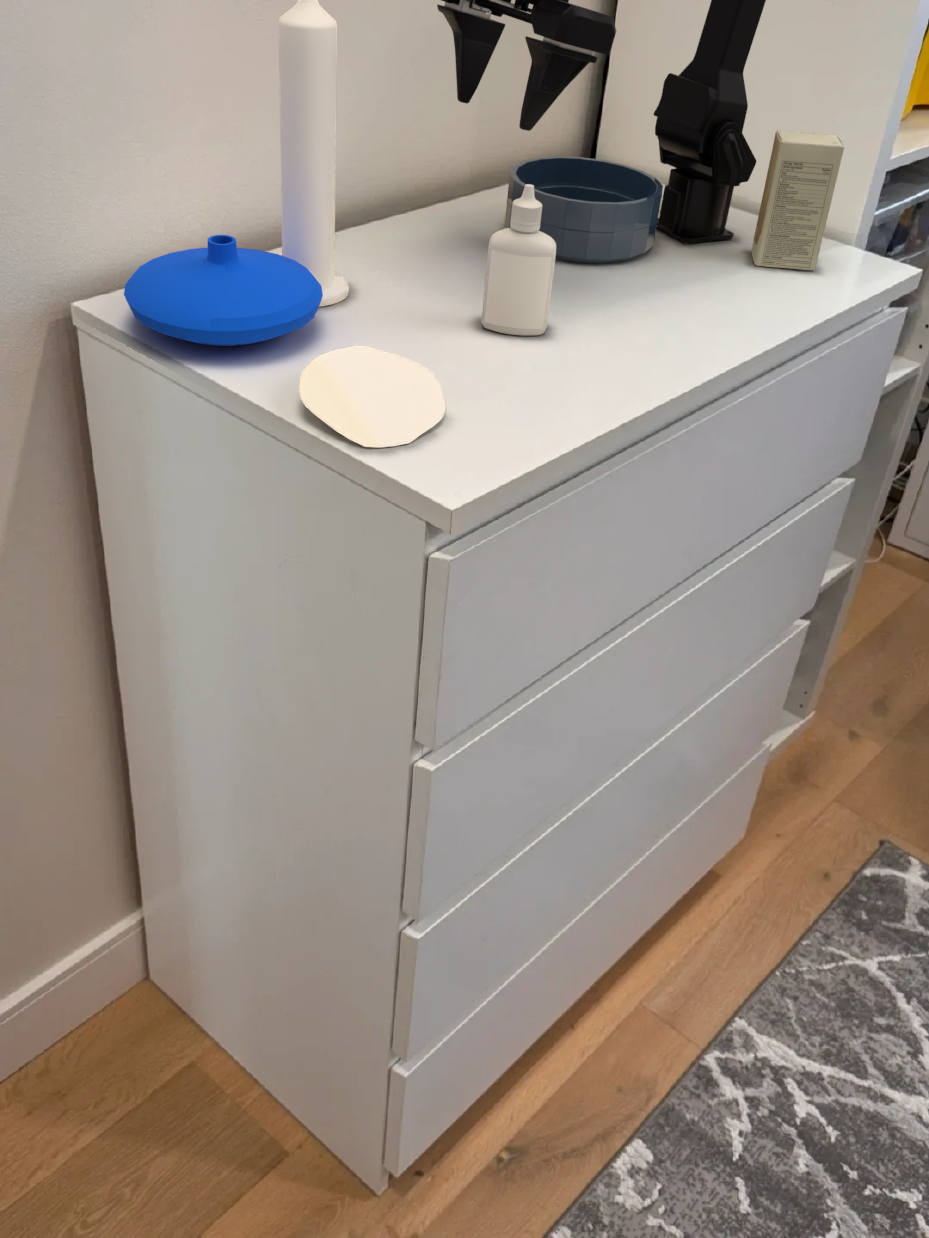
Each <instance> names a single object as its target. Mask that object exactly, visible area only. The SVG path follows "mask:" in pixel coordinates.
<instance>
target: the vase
mask: <svg viewBox="0 0 929 1238" xmlns="http://www.w3.org/2000/svg"><path fill="white" fill-rule="evenodd" d="M237 246H238V245H237V238H235V237H234V236H232V235H229V234H215V235H214V234H213V235H211V236H209V237H208V238H207V247H198V248H197V247H196V248H188V249H183V250H177V251H173V252H169V253H166V254H163V255H160V256H157V257H155V258H152V259H150V260H148V261H147V262H145V263H143V264H141V265H140V266H138V268H137V269H136V270H135V271H134V273H132V274H131V276H130V277H129V279H128V280H127V281H126V283H125V286H124V290H123V296H124V298H125V300H126V303H127V305H128V307H129V309H130V311H131V312H132V314H133V317H134V318H135V319H136V320H137V321H138V322H140V323H141V324H143V325H144V326H145V327H146V328H149V329H151V330H153V331H156V332H158V333H160V334H163V335H165V336H169V337H172V338H175V339H179V340H181V341H186V342H190V343H195V344H199V345H206V346H207V345H208V346H215V347H217V346H218V347H219V346H220V347H221V346H222V347H225V346H226V347H227V346H229V347H230V346H231V347H232V346H234V347H235V346H236V347H237V346H243V345H251V344H252V345H253V344H258V343H260V342H265V341H269V340H272V339H275V338H279V337H282V336H284V335H287V334H290V333H292V332H294V331H296V330H299V329H300V328H303V327H304V326H306V325H307V324H308V323H310V321H311V320H313V319H314V318H315V316H316V314H317V312H318V310H319V308H320V306H319V305H320V302H321V299H322V296H323V293H322V287H321V284H320V283H319V282H318V281H317V280H316V278H315V277H314V276H313V275H312V274H311V272H310V271H309V270H308V269H307V268H306V267H304V266H303V265H301V264H299V263H298V262H296V261H295V260H292V259H289V258H287V257H284V256H282V254H278V253H274V252H270V251H266V250H261V249H254V248H245V247H237Z"/></svg>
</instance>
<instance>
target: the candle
mask: <svg viewBox="0 0 929 1238" xmlns="http://www.w3.org/2000/svg"><path fill="white" fill-rule="evenodd" d="M278 70H279V73H278V74H279V76H278V77H279V78H278V79H279V137H280V139H279V141H280V195H281V196H280V204H281V205H280V207H281V210H280V211H281V256H284V257H287V258H289V259H292V260H295V261H296V262H298V263H299V264H301V265H303V266H304V267H306V268H307V269H308V270H309V271H310V272H311V274H312V275H313V276H314V277H315V278H316V280H317V281H318V282H319V283H320V284H321V287H322V293H323V296H322V299H321V302H320V305H319V307H327V306H331V305H335V304H338V303H340V302H342V301H344V300H345V299H346V298H347V297H348V296H349V291H350V286H349V283H348V281H347V280H346V279H345V278H344V277H342V276H341V275H339V274H336V273H335V257H336V256H335V255H336V254H335V248H336V247H335V246H336V181H337V180H336V179H337V177H336V176H337V175H336V172H337V170H336V169H337V168H336V167H337V102H338V101H337V98H338V97H337V93H338V92H337V91H338V88H337V87H338V22H337V21H336V19H335V18H334V17H333V16H331V15H330V13H328V11H326V9H324V8H323V6H322V5H321V4H320V3H319V0H297V1H296V3H295V4H294V5H292V7H291V8H290V9H289V10H287V11H286V12H284V13H283V14H282V15H281V16H280V17H279V18H278Z"/></svg>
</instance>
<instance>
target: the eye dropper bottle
mask: <svg viewBox="0 0 929 1238" xmlns="http://www.w3.org/2000/svg"><path fill="white" fill-rule="evenodd" d="M541 213H542V204H541V202H539V201H537V200H536V199H535V195H534V185H531V184H526V185H525V187H524V191H523V194H522V196H521V198H519V199H516V200H514V201H513V203H512V212H511V222H510V227H511V228H503V229H500V230H497V231H495V232H494V233H493V234H492V235H491V237H490V239H489V243H488V248H487V249H488V250H487V258H486V267H485V278H484V289H483V299H482V308H481V309H482V312H481V324H482V327H483V328H485V329H487V330H489V331H492V332H496V333H501V334H505V335H511V336H524V337H525V336H526V337H527V336H528V337H530V336H540V335H543V334H544V333H545V332H546V331H547V328H548V321H549V315H550V314H549V313H550V305H551V298H552V297H551V296H552V289H553V281H554V275H555V274H554V273H555V265H556V258H555V257H556V243H555V241H554V240H553V239H552V238H551V237H550V236H549V235H547V234H545V233H543V232H541V231H538V230H539V229H540V222H541Z"/></svg>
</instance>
